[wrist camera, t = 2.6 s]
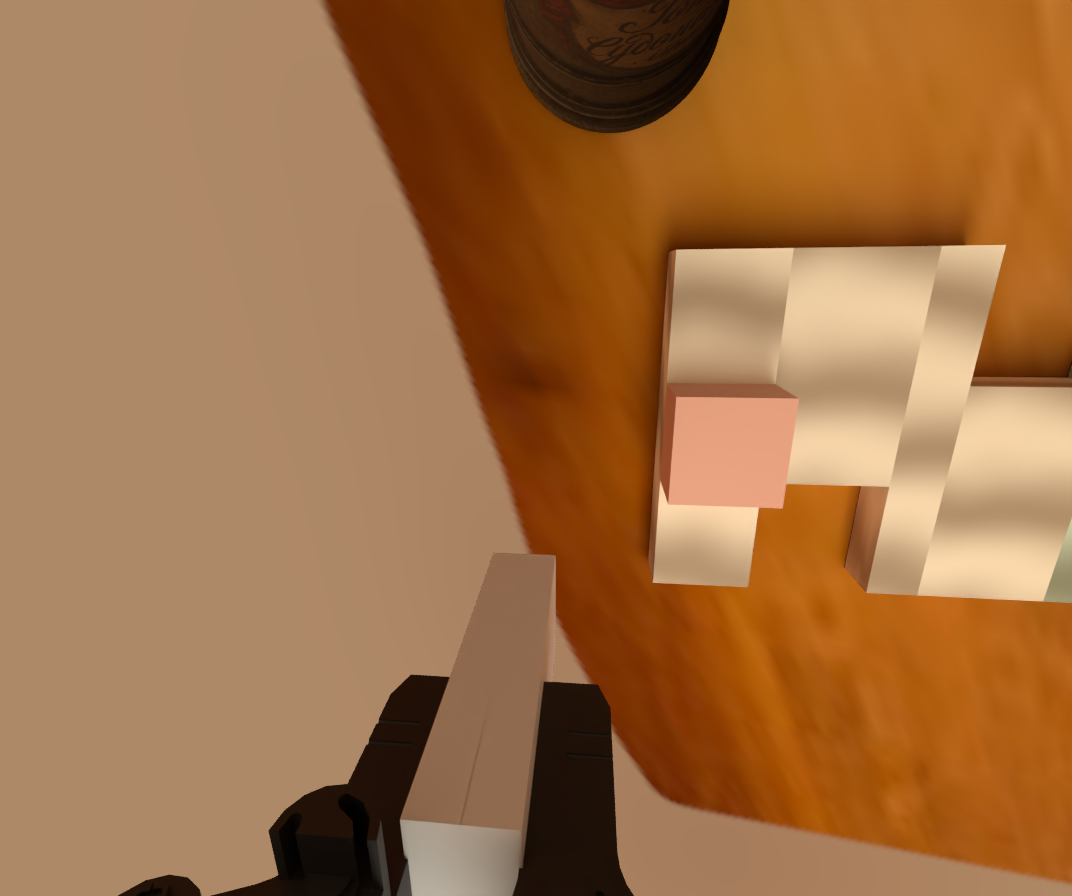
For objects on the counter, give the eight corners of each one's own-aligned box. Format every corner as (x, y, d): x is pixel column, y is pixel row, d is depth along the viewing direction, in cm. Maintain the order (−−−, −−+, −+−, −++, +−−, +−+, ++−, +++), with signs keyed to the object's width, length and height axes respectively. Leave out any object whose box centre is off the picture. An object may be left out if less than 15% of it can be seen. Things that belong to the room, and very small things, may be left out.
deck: (668, 251, 26) (683, 247, 21) (1245, 243, 23) (1393, 237, 19) (648, 559, 31) (657, 604, 27) (1116, 579, 28) (1208, 633, 24)
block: (666, 383, 25) (676, 396, 22) (775, 384, 25) (799, 398, 22) (660, 480, 27) (668, 504, 24) (761, 482, 26) (782, 508, 23)
